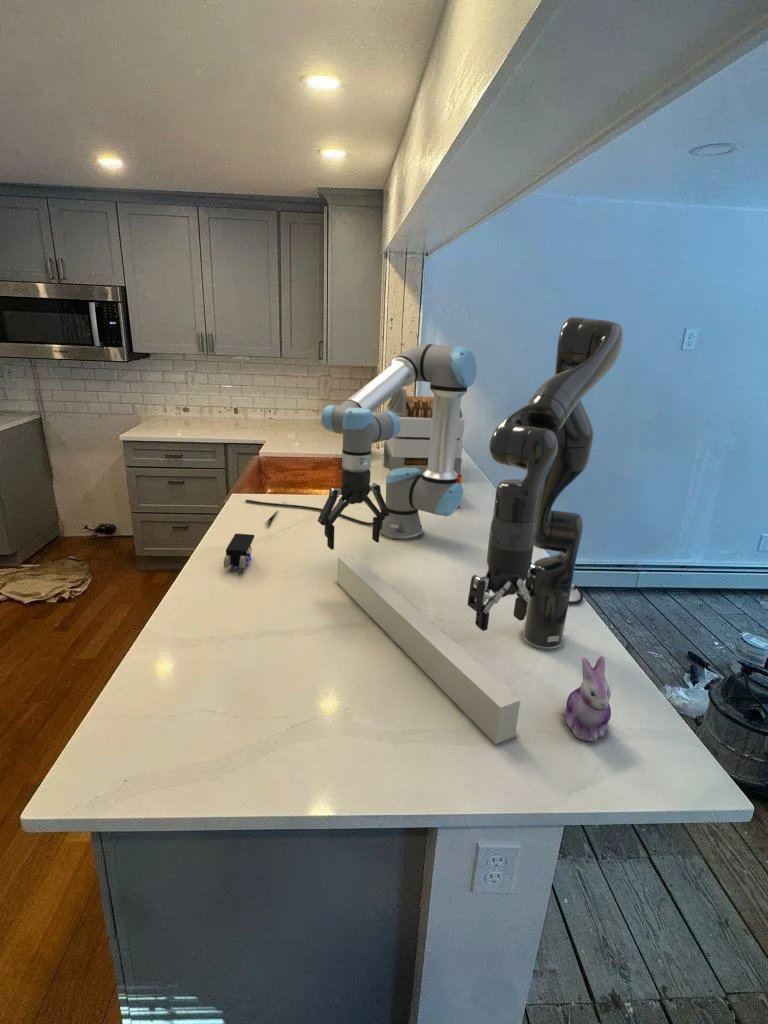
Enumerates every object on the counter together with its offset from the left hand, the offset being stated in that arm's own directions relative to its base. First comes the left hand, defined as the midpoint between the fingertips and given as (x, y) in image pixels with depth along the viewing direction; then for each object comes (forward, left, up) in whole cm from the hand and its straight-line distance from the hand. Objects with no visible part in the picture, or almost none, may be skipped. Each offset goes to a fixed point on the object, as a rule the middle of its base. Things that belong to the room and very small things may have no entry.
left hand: (353, 544), depth 154 cm
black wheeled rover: (-32, -18, -14) cm, 39 cm away
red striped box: (-43, +82, -14) cm, 94 cm away
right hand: (+59, -12, +8) cm, 61 cm away
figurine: (+72, +2, -14) cm, 73 cm away
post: (+29, -6, -14) cm, 33 cm away
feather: (-64, +13, -14) cm, 67 cm away
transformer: (-76, +100, -14) cm, 126 cm away
